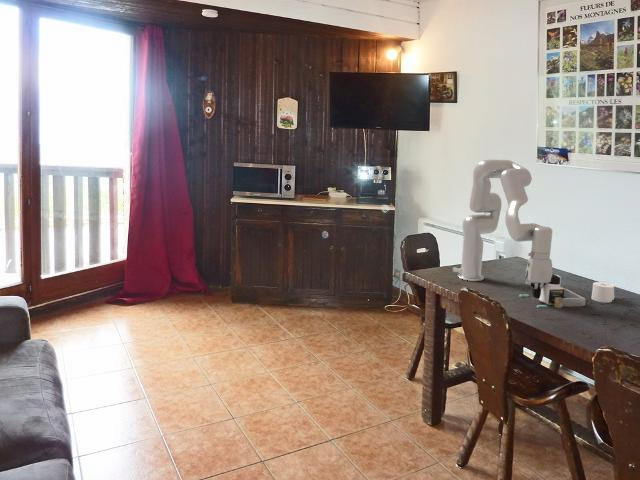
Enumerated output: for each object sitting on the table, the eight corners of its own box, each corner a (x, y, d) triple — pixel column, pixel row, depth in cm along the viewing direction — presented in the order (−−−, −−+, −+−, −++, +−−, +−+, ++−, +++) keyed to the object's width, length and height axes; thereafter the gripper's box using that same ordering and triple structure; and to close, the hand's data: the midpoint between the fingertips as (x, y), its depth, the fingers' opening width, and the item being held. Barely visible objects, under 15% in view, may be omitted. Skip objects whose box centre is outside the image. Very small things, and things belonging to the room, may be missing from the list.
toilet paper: (614, 297, 249) (616, 282, 247) (610, 303, 240) (612, 288, 238) (594, 294, 253) (596, 279, 252) (589, 300, 244) (591, 284, 243)
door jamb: (556, 308, 231) (557, 298, 231) (535, 295, 249) (536, 286, 248) (561, 307, 232) (562, 298, 231) (539, 295, 249) (540, 286, 248)
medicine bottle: (548, 305, 235) (551, 277, 233) (538, 299, 242) (541, 273, 240) (563, 304, 236) (566, 277, 234) (553, 299, 243) (556, 272, 241)
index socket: (561, 306, 234) (562, 298, 233) (544, 296, 247) (544, 289, 247) (584, 306, 235) (585, 298, 234) (566, 296, 249) (566, 289, 248)
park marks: (537, 307, 231) (537, 305, 231) (519, 296, 247) (519, 294, 246) (546, 307, 232) (546, 305, 232) (527, 296, 247) (528, 294, 247)
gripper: (527, 257, 231) (523, 300, 234) (561, 257, 232) (557, 299, 236) (519, 253, 238) (515, 295, 241) (552, 253, 240) (548, 294, 243)
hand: (536, 297), depth 239 cm, fingers closed
